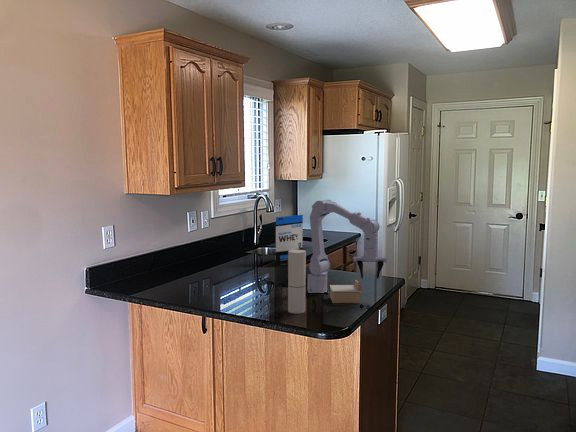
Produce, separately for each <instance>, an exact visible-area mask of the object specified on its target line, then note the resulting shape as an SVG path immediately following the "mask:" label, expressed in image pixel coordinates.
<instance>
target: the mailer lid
mask: <svg viewBox="0 0 576 432" xmlns="http://www.w3.org/2000/svg"><path fill="white" fill-rule="evenodd" d="M330 288H331V290H332V292H360V293H362V285H361V283H360V282H359V281H358V279H355V280H354V284H329V289H330Z"/></svg>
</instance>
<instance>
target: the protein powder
mask: <svg viewBox="0 0 576 432" xmlns="http://www.w3.org/2000/svg"><path fill="white" fill-rule="evenodd" d="M303 216H304V215H303V214H297V215H296V214H295V215H288V216H276V217H275V268H278V267H277V266H287V267H288V251H289V250H303V241H304V240H303V239H304V238H303V236H304V235H303V233H304V231H303V230H304V224H303V223H304V220H303V219H304V218H303Z"/></svg>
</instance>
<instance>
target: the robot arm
mask: <svg viewBox="0 0 576 432" xmlns="http://www.w3.org/2000/svg"><path fill="white" fill-rule="evenodd" d="M331 213H335V214H337V215H339V216H341V217H343V218H345V219H347V220H348V221H349V224H351V225H352V226H355V227H356V228H358V229H359V230H361V231H362V233H363V256H353V263H356V265H357V266H358V269H359V273H360V279H364V278H363V277H364V271H363V270H364V263H365V262H366V263H376V279H379V277H380V273H381V270H382V269H383V267H384V264H385V263H388V258H387V257H385V256H384V257H383V256H378V233H379V230H380V228H381V227H380V226H381V225H380V223H379V222H378V221H377V220H376V219H371V218H370V217H366V216H364V215H362V212H357V211H356V212H351V211H350V210H348V209H347V208H345V207H343V206H341V205H340V204H338V203H337V202H335V201H333V200H331V199H326V200H317V201H315V202H314V203H312V205H311V211H310V215H309V224H310V234H311V245H312V246H311V247H312V255H311V257H310V258H309V259H310V263H309V267H308V268H309V271H310V273H307V286H306V289H307V293H324V292H327V290H328V272H329V270H330V268H331V263H330V261H329V259H328V258H329V257H328V255H327V254H326V253H325V246H324V245H325V244H324V234H323V222H322V220H324V219H325V217H326V216H327V215H329V214H331Z"/></svg>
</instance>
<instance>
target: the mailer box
mask: <svg viewBox="0 0 576 432" xmlns="http://www.w3.org/2000/svg"><path fill="white" fill-rule="evenodd" d="M329 289H330V290H329V298H331V299H330V301H331V300H332V301H331V303H360V304H361V292H332V290H331V288H330V287H329Z"/></svg>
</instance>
